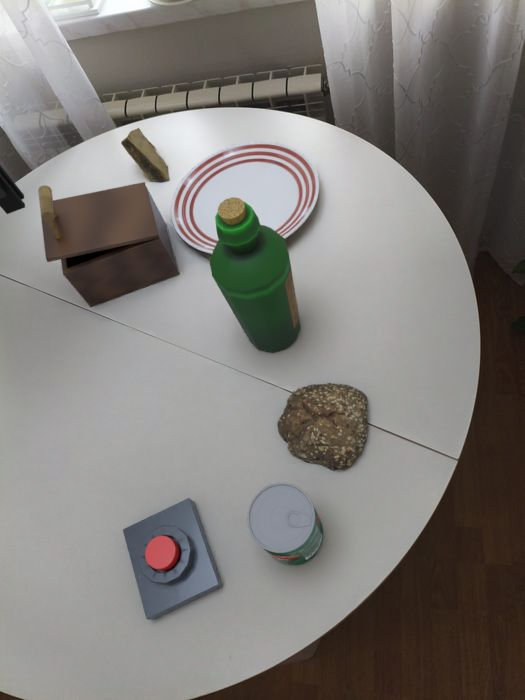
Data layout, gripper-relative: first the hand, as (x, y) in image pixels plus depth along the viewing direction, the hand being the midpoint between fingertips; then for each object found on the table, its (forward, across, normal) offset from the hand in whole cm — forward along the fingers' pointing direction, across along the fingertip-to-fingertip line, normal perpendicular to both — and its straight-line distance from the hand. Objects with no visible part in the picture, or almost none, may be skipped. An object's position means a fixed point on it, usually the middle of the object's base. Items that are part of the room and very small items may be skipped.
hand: (15, 204), depth 77 cm
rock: (+25, +28, -17) cm, 41 cm away
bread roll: (+25, -37, -30) cm, 53 cm away
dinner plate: (+25, +9, -31) cm, 41 cm away
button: (+21, -47, -5) cm, 52 cm away
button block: (+24, -47, -5) cm, 54 cm away
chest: (+24, +5, -8) cm, 26 cm away
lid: (+13, +5, -7) cm, 16 cm away
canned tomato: (+25, -50, -21) cm, 59 cm away
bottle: (+25, -19, -28) cm, 42 cm away
